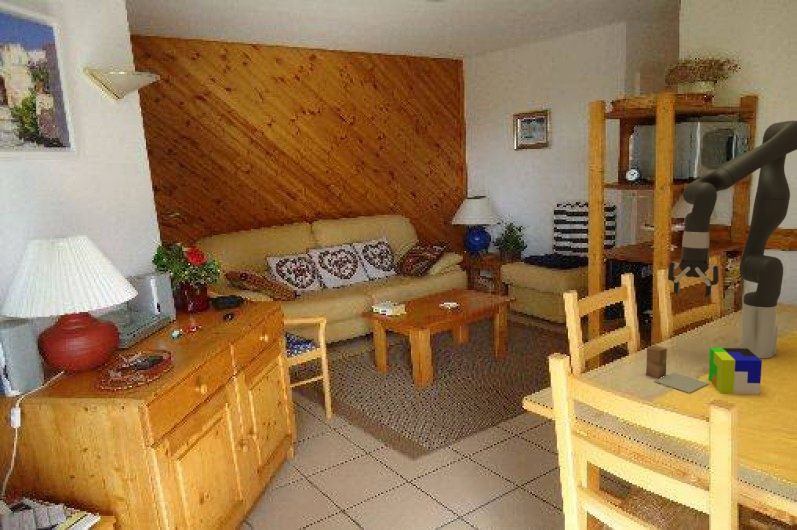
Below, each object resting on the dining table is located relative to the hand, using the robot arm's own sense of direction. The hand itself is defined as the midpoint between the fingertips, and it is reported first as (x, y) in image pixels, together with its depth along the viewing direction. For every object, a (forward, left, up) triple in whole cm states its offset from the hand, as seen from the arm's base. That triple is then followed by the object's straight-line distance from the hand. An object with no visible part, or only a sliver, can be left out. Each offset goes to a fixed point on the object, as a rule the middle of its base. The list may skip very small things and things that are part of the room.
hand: (691, 295), depth 180 cm
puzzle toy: (+3, +23, -22) cm, 32 cm away
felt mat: (+15, +16, -22) cm, 31 cm away
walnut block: (+18, +9, -22) cm, 30 cm away
